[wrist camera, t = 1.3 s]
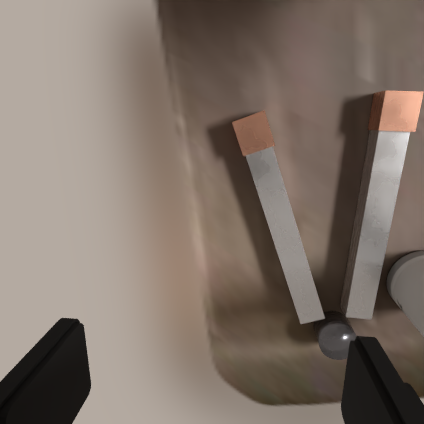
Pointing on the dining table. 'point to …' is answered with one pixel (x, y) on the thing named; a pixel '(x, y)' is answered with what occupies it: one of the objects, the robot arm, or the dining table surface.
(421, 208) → the dining table surface
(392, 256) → the dining table surface
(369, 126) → the base
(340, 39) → the dining table surface
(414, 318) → the travel mug
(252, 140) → the arm
